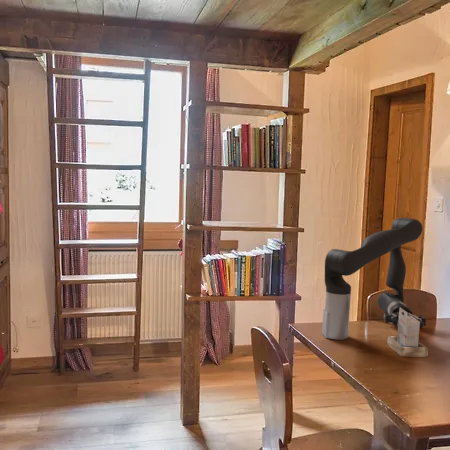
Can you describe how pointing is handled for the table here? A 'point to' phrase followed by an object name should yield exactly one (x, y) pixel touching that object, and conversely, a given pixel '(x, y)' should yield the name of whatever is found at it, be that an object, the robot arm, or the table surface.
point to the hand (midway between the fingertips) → (408, 324)
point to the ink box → (407, 330)
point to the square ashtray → (407, 348)
